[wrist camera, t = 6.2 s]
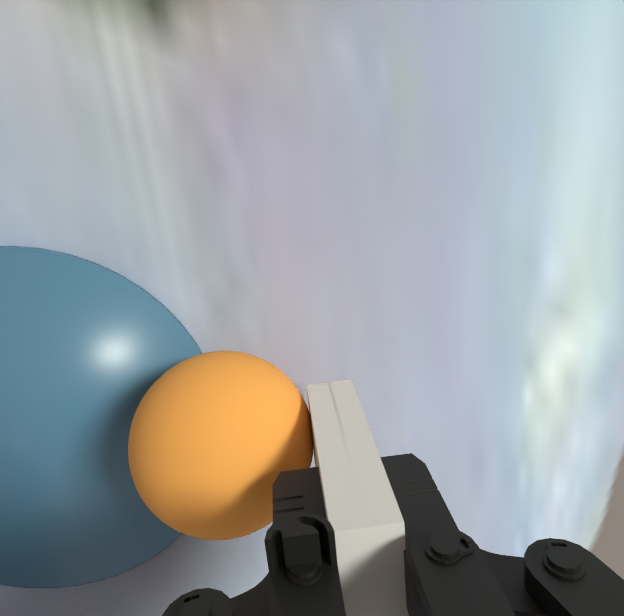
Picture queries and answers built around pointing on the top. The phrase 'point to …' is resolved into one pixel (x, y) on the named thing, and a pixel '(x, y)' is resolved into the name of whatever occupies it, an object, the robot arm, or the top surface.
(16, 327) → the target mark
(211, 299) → the top surface
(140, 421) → the ball
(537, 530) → the top surface
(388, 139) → the top surface
